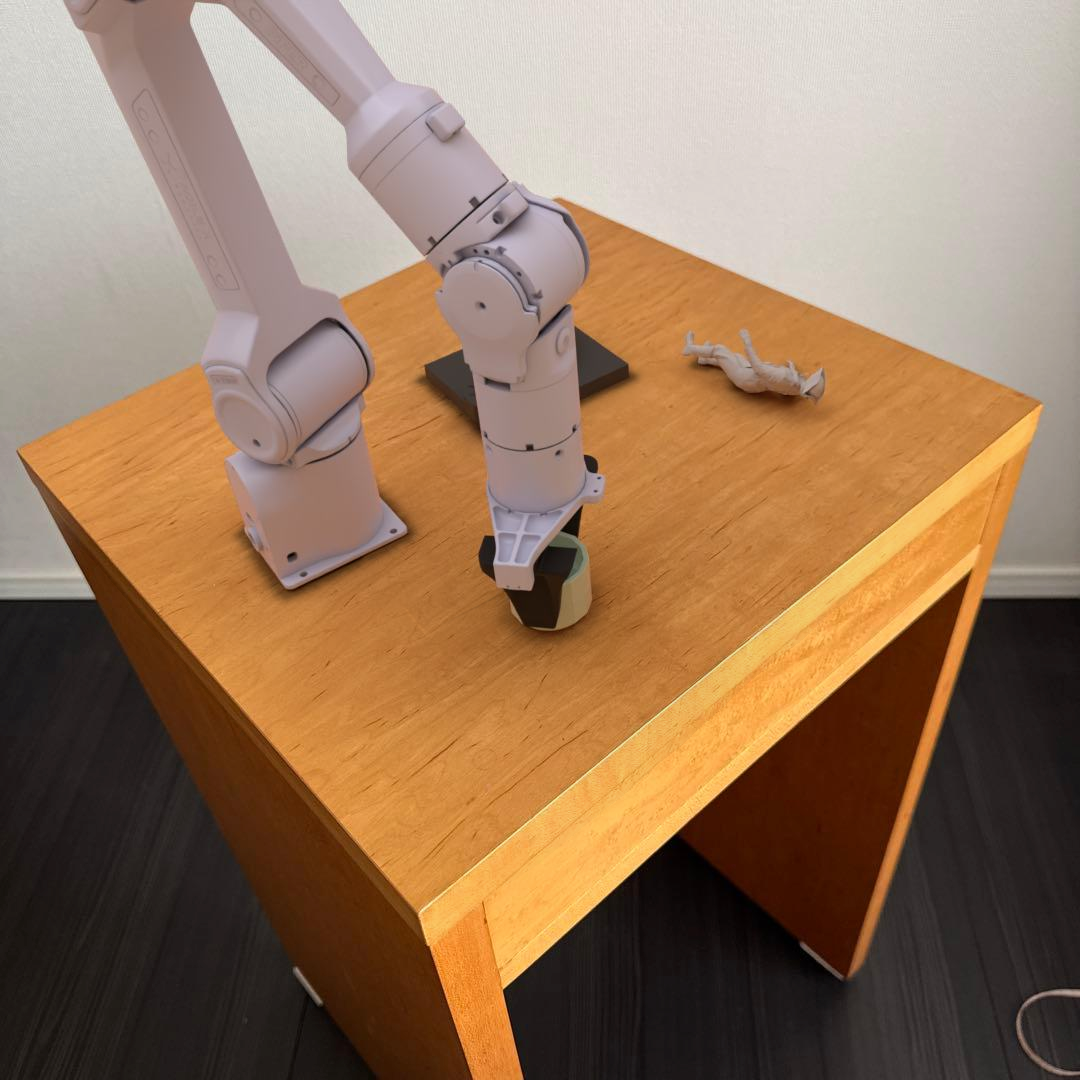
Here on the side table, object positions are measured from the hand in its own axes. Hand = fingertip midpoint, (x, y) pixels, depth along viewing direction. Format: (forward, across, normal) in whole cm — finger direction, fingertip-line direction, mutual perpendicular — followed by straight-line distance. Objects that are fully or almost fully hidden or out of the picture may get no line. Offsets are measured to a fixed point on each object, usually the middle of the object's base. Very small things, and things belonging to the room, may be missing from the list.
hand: (549, 590), depth 72 cm
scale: (+1, +26, +7) cm, 27 cm away
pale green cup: (+1, 0, 0) cm, 1 cm away
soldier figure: (+2, +26, -11) cm, 28 cm away
